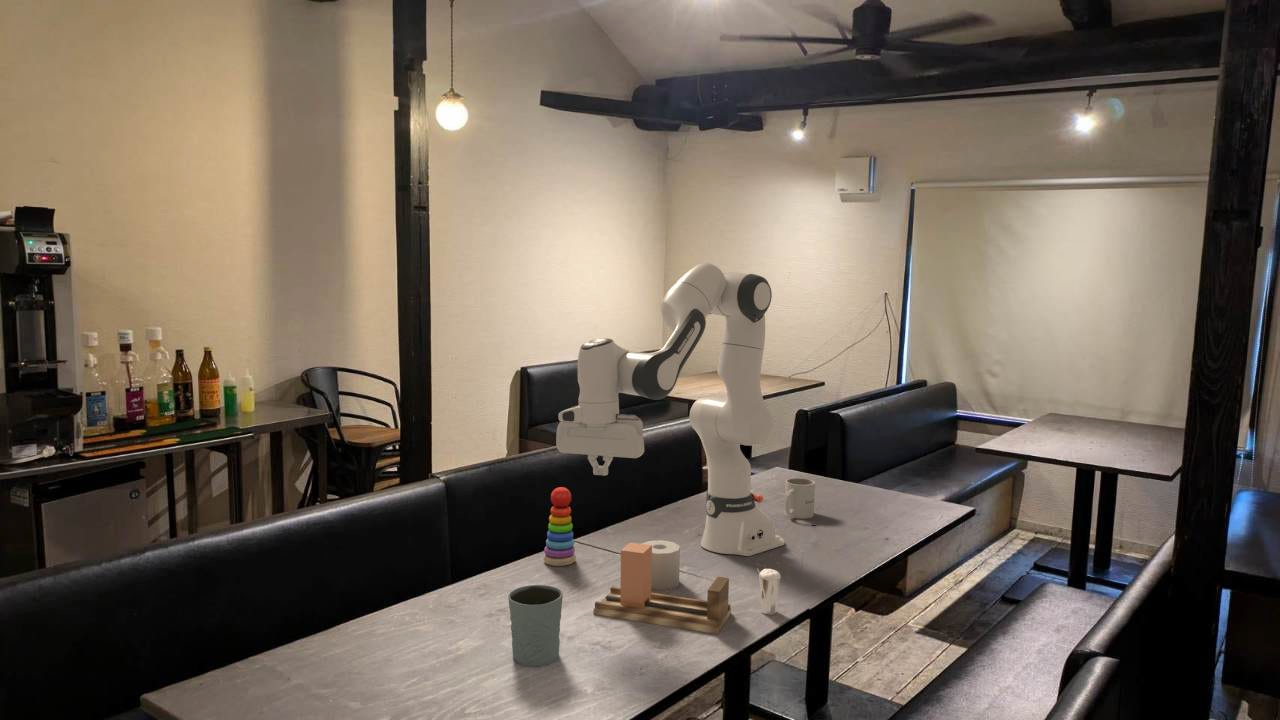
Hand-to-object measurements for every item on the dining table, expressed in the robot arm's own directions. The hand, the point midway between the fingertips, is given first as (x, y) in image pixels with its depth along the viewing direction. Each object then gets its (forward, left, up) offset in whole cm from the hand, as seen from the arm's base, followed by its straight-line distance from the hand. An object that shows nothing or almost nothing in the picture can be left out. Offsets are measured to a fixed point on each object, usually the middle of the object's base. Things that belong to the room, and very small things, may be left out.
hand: (600, 474), depth 186 cm
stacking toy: (0, -22, -27) cm, 35 cm away
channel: (-6, +17, -27) cm, 32 cm away
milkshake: (-26, +27, -27) cm, 46 cm away
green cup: (+25, +22, -27) cm, 43 cm away
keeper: (-2, +12, -25) cm, 28 cm away
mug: (-78, -25, -27) cm, 86 cm away
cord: (-6, +16, -26) cm, 31 cm away
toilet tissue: (-14, 0, -27) cm, 31 cm away
